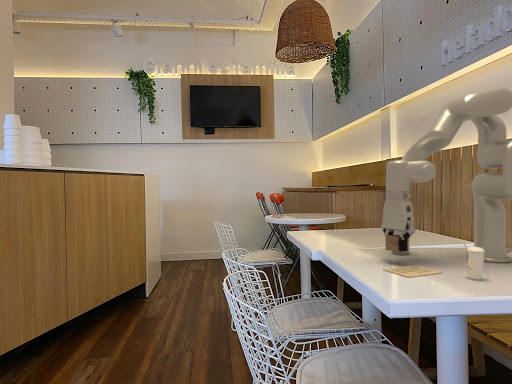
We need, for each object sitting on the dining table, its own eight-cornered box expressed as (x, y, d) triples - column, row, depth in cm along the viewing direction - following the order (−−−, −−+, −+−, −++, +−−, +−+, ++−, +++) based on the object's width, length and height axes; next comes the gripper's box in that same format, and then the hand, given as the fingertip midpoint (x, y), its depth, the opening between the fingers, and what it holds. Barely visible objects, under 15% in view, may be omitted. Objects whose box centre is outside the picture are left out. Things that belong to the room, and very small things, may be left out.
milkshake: (459, 276, 99) (459, 242, 99) (478, 276, 99) (478, 242, 99) (468, 280, 94) (468, 245, 94) (488, 280, 94) (488, 245, 94)
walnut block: (396, 248, 118) (396, 234, 118) (407, 251, 114) (408, 236, 114) (385, 249, 116) (385, 235, 116) (396, 252, 112) (396, 237, 112)
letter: (415, 266, 112) (415, 265, 112) (442, 273, 102) (442, 272, 102) (382, 270, 106) (382, 269, 106) (408, 277, 97) (408, 276, 97)
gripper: (426, 197, 109) (425, 253, 109) (387, 196, 124) (386, 245, 124) (409, 197, 106) (408, 255, 106) (371, 196, 121) (370, 246, 122)
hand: (396, 249), depth 115 cm, fingers closed on walnut block, 5 cm apart
